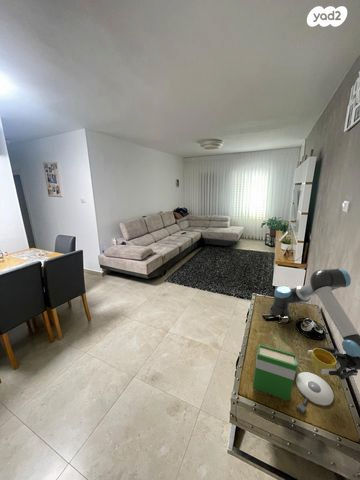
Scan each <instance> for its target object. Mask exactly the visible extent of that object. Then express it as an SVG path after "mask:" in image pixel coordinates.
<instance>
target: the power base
mask: <svg viewBox="0 0 360 480" xmlns="http://www.w3.org/2000/svg"><path fill="white" fill-rule="evenodd" d="M295 378H296V379H295V383H296V388H297V389H298V390H299V392H300V393H301V395H303V396H304V401H303V403H301V402H298V405H297V406H296V411H298V412H299V413H300V414H301V415H304V414H305V412H306V410H307V407H306V405H307V403H308V401H310V402H311V403H313V404H316V405H317V406H318V405H319V406H321V407H322V406H324V407H325V406H329V405H331V404H332V403H333V402H334V391H333V389H332V388H331V387H330V385H329V383H328V382H326V381H325V380H324V379H323V378H321V376H320V375H316V374H315V373H311V372H309V371H303V372H299V373H298V374H297V375H296V377H295Z"/></svg>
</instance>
